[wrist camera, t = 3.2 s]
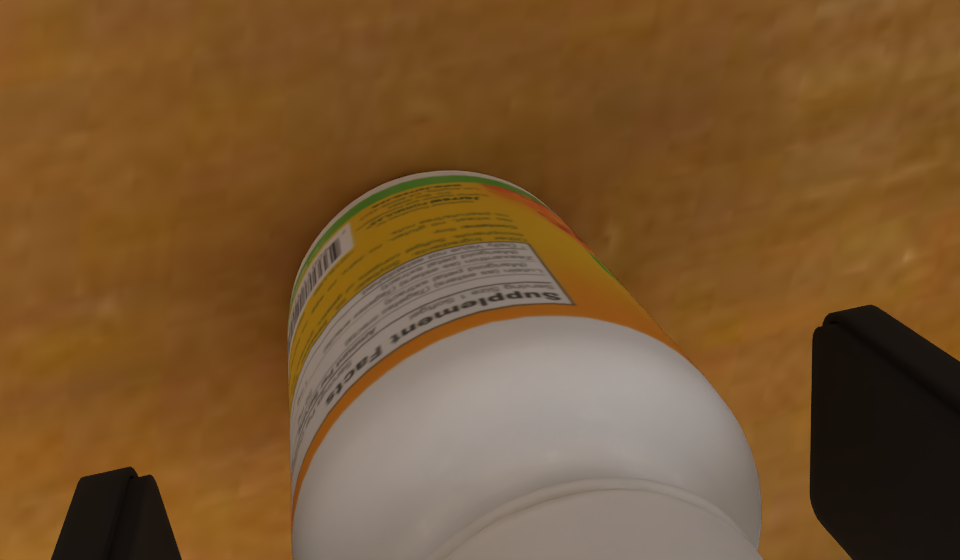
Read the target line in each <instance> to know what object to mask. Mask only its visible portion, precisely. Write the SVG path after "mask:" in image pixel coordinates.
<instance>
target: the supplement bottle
mask: <svg viewBox="0 0 960 560" xmlns="http://www.w3.org/2000/svg"><path fill="white" fill-rule="evenodd" d="M288 378H289V384H288V386H289V414H290V464H291V520H292V555H293V560H764V559H763V558H762V557H761V556H760V554H759V553H758V546H759V540H760V532H761V520H762V505H761V493H760V484H759V476H758V473H757V469H756V466H755V462H754V459H753V455H752V452H751V449H750V446H749V444H748V442H747V440H746V437H745V435H744V433H743V431H742V429H741V427H740V424H739V423H738V421H737V420H736V418H735V416H734V415H733V413H732V412H731V410H730V408H729V407H728V406H727V405H726V403H725V402H724V401H723V399H722V398H721V397H720V396H719V394H718V393H717V392H716V390H715V389H714V388H713V386H712V385H711V384H710V383H709V381H708V380H707V379H706V378H705V377H704V375H703V374H702V373H701V372H700V371H699V370H698V368H697V367H696V366H695V365H694V364H693V363H692V362H691V361H690V359H689V358H688V357H687V356H686V355H685V354H684V353H683V352H682V351H681V350H680V349H679V347H678V346H677V345H676V344H675V343H674V342H673V341H672V340H671V339H670V338H669V337H668V336H667V334H666V333H665V332H664V331H663V330H662V329H661V328H660V327H659V326H658V324H657V323H656V322H655V321H654V320H653V319H652V318H651V317H650V316H649V314H648V313H647V312H646V311H645V310H644V309H643V308H642V307H641V306H640V304H639V303H638V302H637V301H636V300H635V299H634V298H633V297H632V295H631V294H630V293H629V292H628V291H627V290H626V289H625V288H624V287H623V285H622V284H621V283H620V282H619V281H618V280H617V279H616V278H615V277H614V276H613V274H612V273H611V272H610V271H609V270H608V269H607V268H606V267H605V266H604V265H603V264H602V262H601V261H600V260H599V259H598V258H597V257H596V256H595V255H594V254H593V253H592V252H591V251H590V249H589V248H588V247H587V246H586V245H585V244H584V243H583V242H582V241H581V240H580V239H579V238H578V237H577V236H576V234H575V233H574V232H573V231H572V230H571V229H570V228H569V227H568V226H567V225H566V224H565V223H564V221H563V220H562V219H561V218H560V217H559V216H557V215H556V214H555V213H554V212H553V211H552V210H551V209H550V208H549V207H548V206H547V205H545V204H544V203H543V202H542V201H540V200H539V199H538V198H536V197H535V196H534V195H532V194H531V193H529V192H527V191H526V190H524V189H522V188H521V187H519V186H516V185H514V184H512V183H510V182H508V181H505V180H502V179H499V178H496V177H493V176H489V175H485V174H481V173H476V172H468V171H456V170H451V171H432V172H424V173H417V174H413V175H408V176H405V177H401V178H398V179H395V180H392V181H389V182H386V183H384V184H382V185H380V186H378V187H376V188H374V189H372V190H370V191H368V192H366V193H365V194H363V195H362V196H360V197H359V198H357V199H356V200H354V201H353V202H351V203H350V204H349V205H348V206H346V207H345V208H344V209H343V210H342V211H340V212H339V213H338V214H337V215H336V216H335V217H334V218H333V219H332V220H331V221H330V222H329V223H328V225H327V226H326V227H325V228H324V229H323V230H322V231H321V233H320V234H319V235H318V237H317V238H316V239H315V241H314V242H313V244H312V245H311V247H310V249H309V250H308V252H307V254H306V256H305V257H304V259H303V261H302V263H301V266H300V268H299V271H298V273H297V276H296V279H295V283H294V287H293V291H292V296H291V301H290V309H289V318H288Z"/></svg>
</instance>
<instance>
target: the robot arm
mask: <svg viewBox="0 0 960 560" xmlns="http://www.w3.org/2000/svg"><path fill="white" fill-rule="evenodd" d="M810 500H811V504H812V508H813V510H814V513H815V515H816V517H817V519H818V520H819V521H820V523H821V524H822V525H823V526H824V528H825V529H826V530H827V531H828V532H829V533H830V534H831V535H832V537H833V538H834V539H835V540H836V541H837V542H838V543H839V544H840V546H841V547H842V548H843V549H844V550H845V551H846V552H847V554H848V555H849V556H850V557H851V558H852V559H853V560H960V362H959V361H958V360H956V359H955V358H953V357H952V356H950V355H949V354H947V353H946V352H944V351H943V350H941V349H940V348H938V347H937V346H935V345H934V344H932V343H931V342H929V341H928V340H926V339H925V338H923V337H922V336H920V335H919V334H917V333H916V332H914V331H913V330H911V329H910V328H908V327H907V326H905V325H904V324H902V323H901V322H899V321H898V320H896V319H895V318H893V317H892V316H890V315H889V314H887V313H886V312H884V311H883V310H881V309H879V308H878V307H876V306H873V305H866V306H861V307H857V308H852V309H848V310H843V311H838V312H834V313H829V314H828V315H827V316H826V317H825V319H824V321H823V325H822V326H821V327H818V328H816V329H815V331H814V333H813V340H812V395H811V451H810ZM51 560H182V559H181V556H180V553H179V550H178V547H177V544H176V541H175V538H174V535H173V532H172V528H171V525H170V522H169V519H168V516H167V513H166V510H165V507H164V504H163V501H162V498H161V495H160V492H159V489H158V486H157V483H156V481H155V479H154V477H153V476H152V475H146V476H142V477H138V475H137V473H136V471H135V470H134V469H133V468H132V467H126V468H122V469H117V470H113V471H108V472H103V473H99V474H94V475H90V476H85V477H82V478H81V479H80V480H79V482H78V484H77V487H76V490H75V493H74V496H73V499H72V501H71V504H70V507H69V510H68V513H67V516H66V518H65V521H64V524H63V527H62V530H61V533H60V535H59V538H58V541H57V544H56V547H55V550H54V552H53V555H52V558H51Z"/></svg>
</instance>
